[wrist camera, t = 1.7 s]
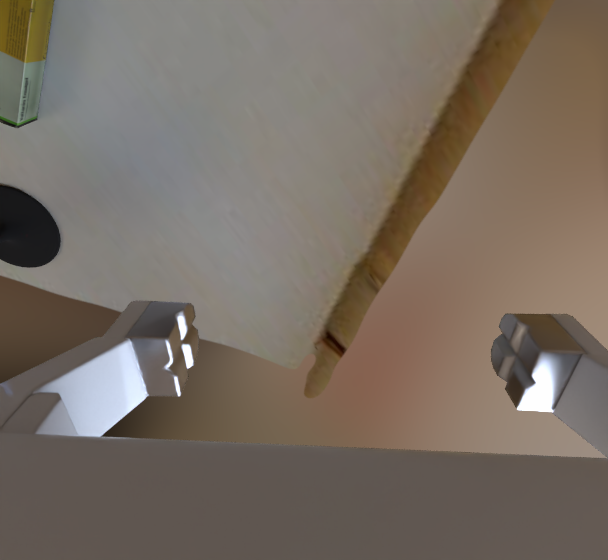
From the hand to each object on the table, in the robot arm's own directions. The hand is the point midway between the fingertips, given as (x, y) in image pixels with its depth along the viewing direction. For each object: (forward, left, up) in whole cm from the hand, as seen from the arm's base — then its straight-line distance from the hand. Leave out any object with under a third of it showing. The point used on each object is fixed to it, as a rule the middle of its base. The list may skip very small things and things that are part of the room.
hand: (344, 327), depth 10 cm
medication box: (-25, -13, -33) cm, 43 cm away
